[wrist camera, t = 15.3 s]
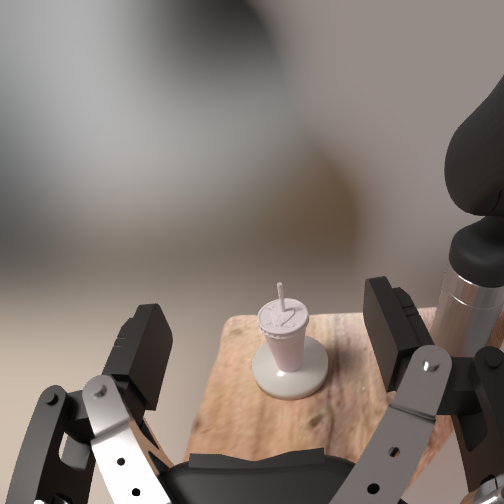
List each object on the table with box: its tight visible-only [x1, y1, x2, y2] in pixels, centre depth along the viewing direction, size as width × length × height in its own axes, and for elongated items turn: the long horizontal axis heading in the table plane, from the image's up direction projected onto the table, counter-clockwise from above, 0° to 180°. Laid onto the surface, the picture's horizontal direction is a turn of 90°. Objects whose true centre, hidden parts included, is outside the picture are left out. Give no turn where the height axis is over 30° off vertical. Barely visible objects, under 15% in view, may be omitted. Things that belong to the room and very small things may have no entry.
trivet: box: [252, 336, 328, 400], centre depth 43 cm, size 11×11×2 cm
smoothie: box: [257, 283, 309, 373], centre depth 39 cm, size 6×6×14 cm
